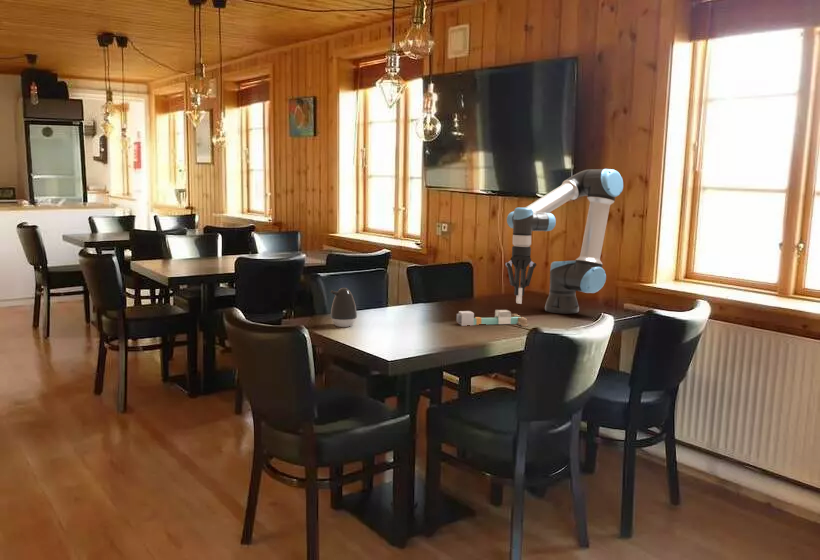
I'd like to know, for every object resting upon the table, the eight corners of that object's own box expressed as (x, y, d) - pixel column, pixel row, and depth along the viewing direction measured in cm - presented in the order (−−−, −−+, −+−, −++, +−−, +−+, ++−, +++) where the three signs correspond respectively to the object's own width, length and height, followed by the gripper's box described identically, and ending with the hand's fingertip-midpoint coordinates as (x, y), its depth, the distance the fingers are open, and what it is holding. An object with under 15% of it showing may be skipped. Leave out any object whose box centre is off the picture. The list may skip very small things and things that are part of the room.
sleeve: (506, 321, 294) (506, 309, 293) (510, 323, 289) (510, 312, 288) (494, 321, 293) (495, 310, 292) (498, 324, 288) (499, 312, 287)
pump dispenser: (326, 324, 283) (327, 286, 281) (351, 323, 287) (352, 285, 285) (334, 329, 273) (334, 290, 271) (360, 327, 277) (360, 289, 275)
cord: (519, 322, 295) (519, 310, 294) (523, 324, 290) (523, 312, 289) (455, 323, 289) (456, 311, 289) (459, 325, 285) (459, 313, 284)
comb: (515, 320, 299) (516, 313, 299) (527, 326, 286) (527, 319, 285) (510, 320, 299) (510, 313, 298) (521, 326, 285) (522, 319, 285)
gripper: (533, 245, 293) (530, 301, 296) (503, 244, 290) (500, 301, 293) (540, 246, 286) (537, 304, 289) (509, 246, 283) (506, 304, 286)
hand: (518, 303), depth 291 cm, fingers closed
